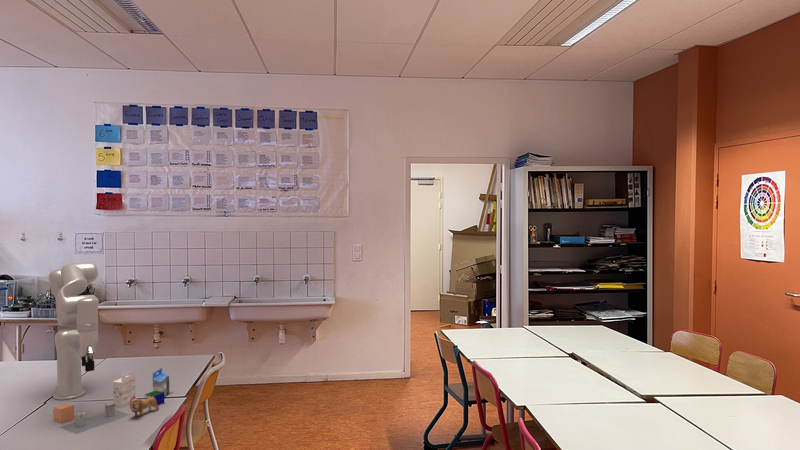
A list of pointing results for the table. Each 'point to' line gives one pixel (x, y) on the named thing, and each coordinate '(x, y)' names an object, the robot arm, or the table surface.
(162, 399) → the puzzle toy
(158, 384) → the label tape box
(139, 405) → the lion figurine
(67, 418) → the orange wooden cube
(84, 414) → the post
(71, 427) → the board
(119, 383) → the ink cartridge box
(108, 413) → the post
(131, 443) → the table surface
